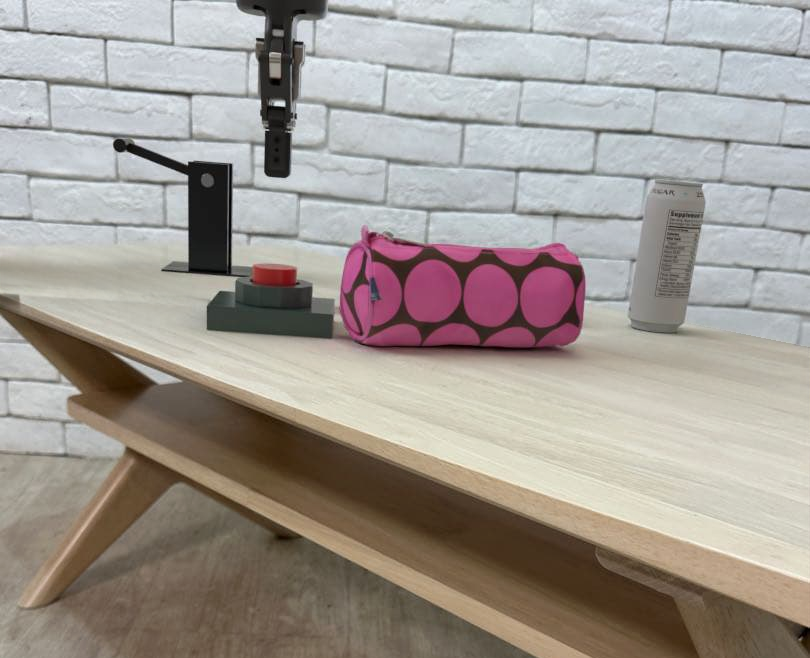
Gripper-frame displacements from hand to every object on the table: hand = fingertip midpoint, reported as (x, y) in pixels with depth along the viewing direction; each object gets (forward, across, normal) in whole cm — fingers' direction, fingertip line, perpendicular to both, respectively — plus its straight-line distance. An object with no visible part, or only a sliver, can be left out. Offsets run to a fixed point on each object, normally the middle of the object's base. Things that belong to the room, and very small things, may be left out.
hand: (277, 176), depth 87 cm
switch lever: (+2, -28, -14) cm, 31 cm away
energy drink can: (+13, -14, +40) cm, 44 cm away
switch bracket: (+13, -28, -9) cm, 32 cm away
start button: (+9, 0, 0) cm, 9 cm away
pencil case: (+13, +4, +17) cm, 22 cm away
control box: (+13, 0, 0) cm, 13 cm away
